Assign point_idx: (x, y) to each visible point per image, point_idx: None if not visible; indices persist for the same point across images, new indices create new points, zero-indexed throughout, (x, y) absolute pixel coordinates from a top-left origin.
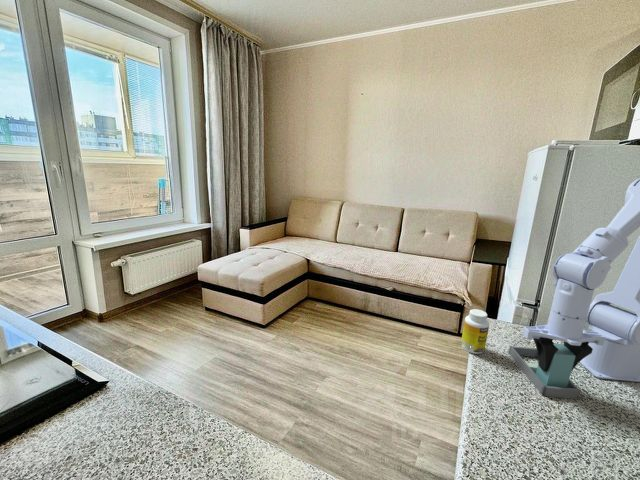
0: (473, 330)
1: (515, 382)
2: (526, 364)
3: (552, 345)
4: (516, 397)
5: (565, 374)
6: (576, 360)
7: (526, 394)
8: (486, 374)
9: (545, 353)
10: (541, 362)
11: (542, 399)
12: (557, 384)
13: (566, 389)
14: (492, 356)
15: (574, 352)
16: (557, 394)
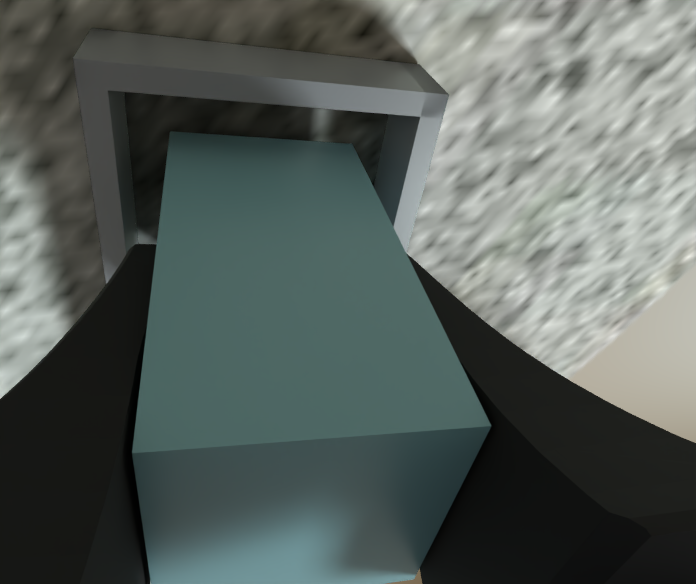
0: None
1: (507, 199)
2: None
3: (642, 579)
4: (646, 33)
5: (221, 215)
6: (100, 375)
7: (537, 72)
8: (631, 254)
9: (619, 410)
10: None
11: (454, 14)
12: (266, 154)
13: (235, 75)
14: None
15: (122, 517)
16: (301, 60)
